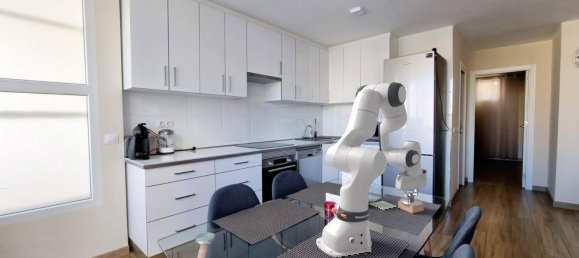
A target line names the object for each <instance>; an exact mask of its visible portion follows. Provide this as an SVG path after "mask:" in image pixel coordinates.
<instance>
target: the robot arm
mask: <svg viewBox="0 0 579 258" xmlns="http://www.w3.org/2000/svg"><path fill="white" fill-rule="evenodd" d="M406 99H407V91H406V87H405V86H404V85H403V84H402V83H401V82H381V83H380V82H377V83H372V84H365V85H362V86H360V87H359V88H357V90H356V93H355V99H354V102H353V105H352V107H351V110H350V114H349V115H350V116H349V120H348V122H347V125H346V126H347V127H346V129H345V131H344V133H343V134H342V136H341V137H340V139H338V141H337V142H336V143H334V144H333V145H331V146H330V147H328V149H327V151H326V153H325V161H326V162H325V163H326V164H327V166H328V167H330V168H331V169H333V170H336V171H338V172H347V173H352V178H351V181H349V182H347V183H345V184H344V185H343V186H342V185H341V187H340V189H339V206H338V208H336V207H332V208H331V213H332V214H335V217H333V218H332V219H331V220H330V221H329V222H328V223H327V224H326V225H325V226H324V228H323V230H322V232H321V233H322V234H321V236H320V237H318V238H317V239H316V241H315V244H316V245H317V247H318V248H319V249H320V250H321V251H322V252H324V253H325V254H326V255H328V256H330V257H333V258H336V257H338V258H343V257H342V256H345V257H349V256H348V255H351V256H355V255H354V254H357V255H360V254H359V253H364V252H370V253H371V252H372V246H373V242H372V238H371V234H370V226H369V219H370V208H369V196H370V195H369V194H370V189H371V186H372V185H373V183H374V181H375V180H376V179H377V178H379V177H380V176H382V175H383V174H384V173H385V171H386V170H387V166H394V167H399V168H400V167H401V168H402V172H398V173H397V176H396V179H395V188H396V190H398V191H401V192H402V193H403V198H405V197H407V198H408V197H409V194H408V192H409V191H408V190H412V189H414V190H413V192H412V193H414V197H416V196H418V195H419V191H420V188H421V187H422V188H423V187H426V186H427V184H428V183H427V181H428V176H427V173H428V170H427V169H425V168H422V165H421V164H422V163H421V160H422V148H421V143H420V142H418V141H415V140H414V141H413V140H406V141H404V142H403V147H402V148H401V147H395V146H391V145H390V135H389V134H391V133H393V132H396V131H398V130H401V129H402V128H403V127H404V126H406V123H407V121H408V114H407V109H406V106H405V101H406ZM380 113H381V114H380ZM379 115H381V121H380V122H378V119H379ZM377 123H379V124H377ZM377 125H378V126H377ZM377 127H378V128H377ZM376 129H377V132H378V133H377V135H378V147H379V149H376V148H373V147H366V146H362V145H363V143H364V142H365V141H367V140H369V139H371V138H372V137H374V136H375V133H376ZM364 254H365V253H364Z"/></svg>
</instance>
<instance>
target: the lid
mask: <svg viewBox="0 0 579 258" xmlns="http://www.w3.org/2000/svg"><path fill="white" fill-rule="evenodd" d="M407 194H409V197H401V198H399V201H400V202H401V203H402V204H405V205H409V206H421V205H422V203H423V201H422V200H420V199H419V198H415V195H414V193H413V192H407Z"/></svg>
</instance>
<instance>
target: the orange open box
mask: <svg viewBox="0 0 579 258" xmlns="http://www.w3.org/2000/svg"><path fill="white" fill-rule="evenodd" d="M398 208H400V209H399V210H401V209H402V210H401V211H403V210H405V211H404V212H406V211H407V212H406V213H408V212H409V214H411V215H413V213H414V214H418V213H422V212H425V203H423V202H422V205H421V206H409V205H405V204H402V203H401V202H400V200H398V201H397V209H398ZM421 211H422V212H421Z"/></svg>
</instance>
